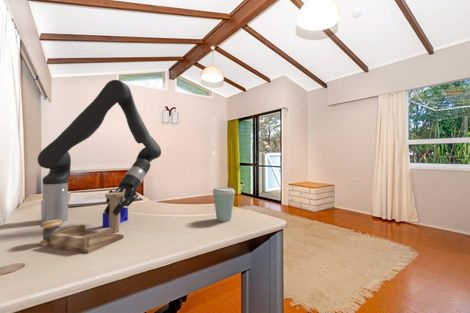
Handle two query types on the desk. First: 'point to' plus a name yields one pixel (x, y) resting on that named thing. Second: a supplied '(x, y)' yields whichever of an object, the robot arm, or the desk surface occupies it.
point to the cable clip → (122, 217)
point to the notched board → (90, 249)
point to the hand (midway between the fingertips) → (110, 213)
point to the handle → (113, 219)
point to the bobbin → (49, 230)
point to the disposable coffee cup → (223, 202)
